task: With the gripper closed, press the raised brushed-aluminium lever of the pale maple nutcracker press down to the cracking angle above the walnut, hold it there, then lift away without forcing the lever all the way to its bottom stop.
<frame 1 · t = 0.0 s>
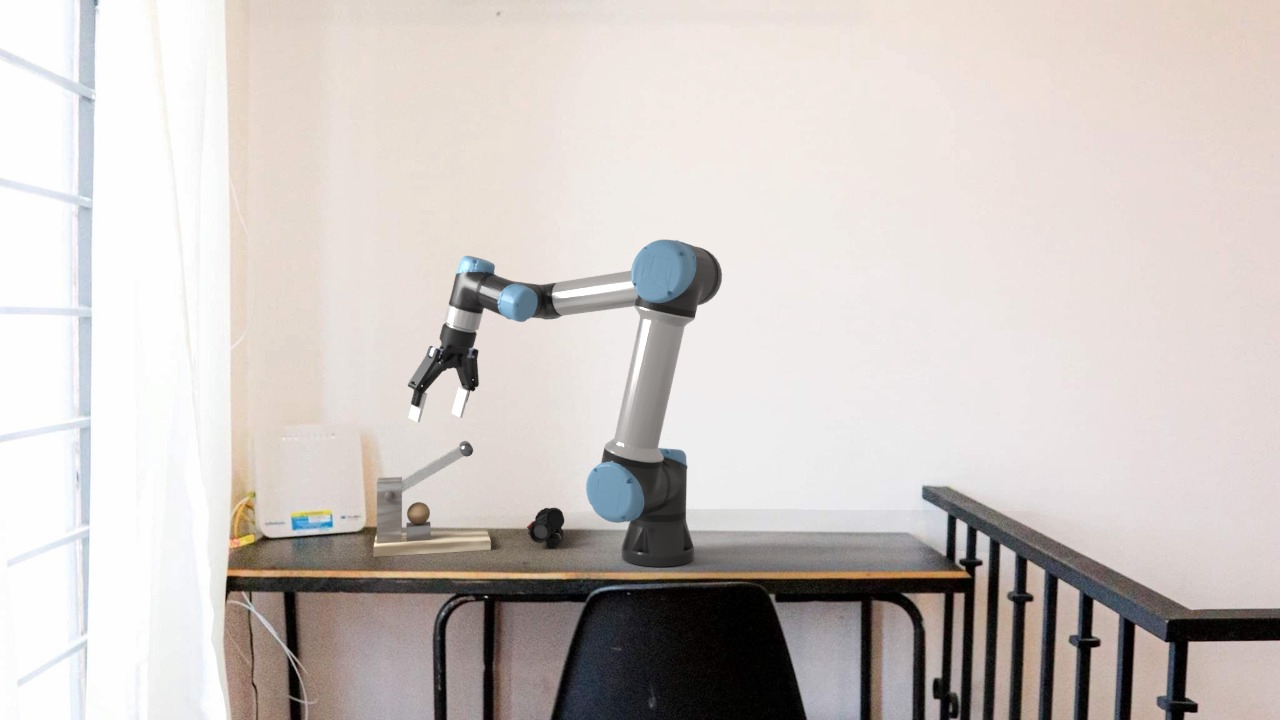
hand: (436, 417, 178), 28 cm above the table, tool tilted 20°, fingers open, 13 cm apart
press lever: (428, 470, 175), point 17 cm above the table, hinge at 30.0°
press base: (432, 546, 175), on the table
night vision scope: (547, 542, 181), on the table
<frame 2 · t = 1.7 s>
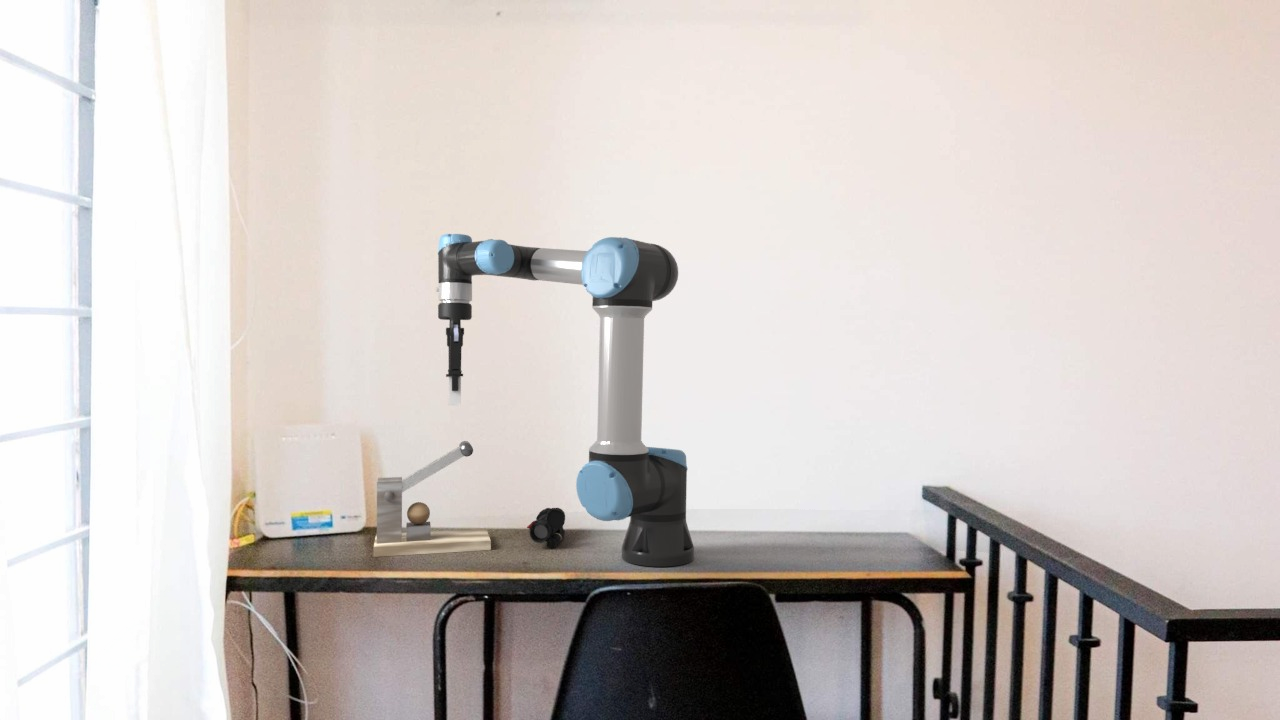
hand: (454, 405, 184), 30 cm above the table, tool pointing down, fingers closed
nothing on the table moved.
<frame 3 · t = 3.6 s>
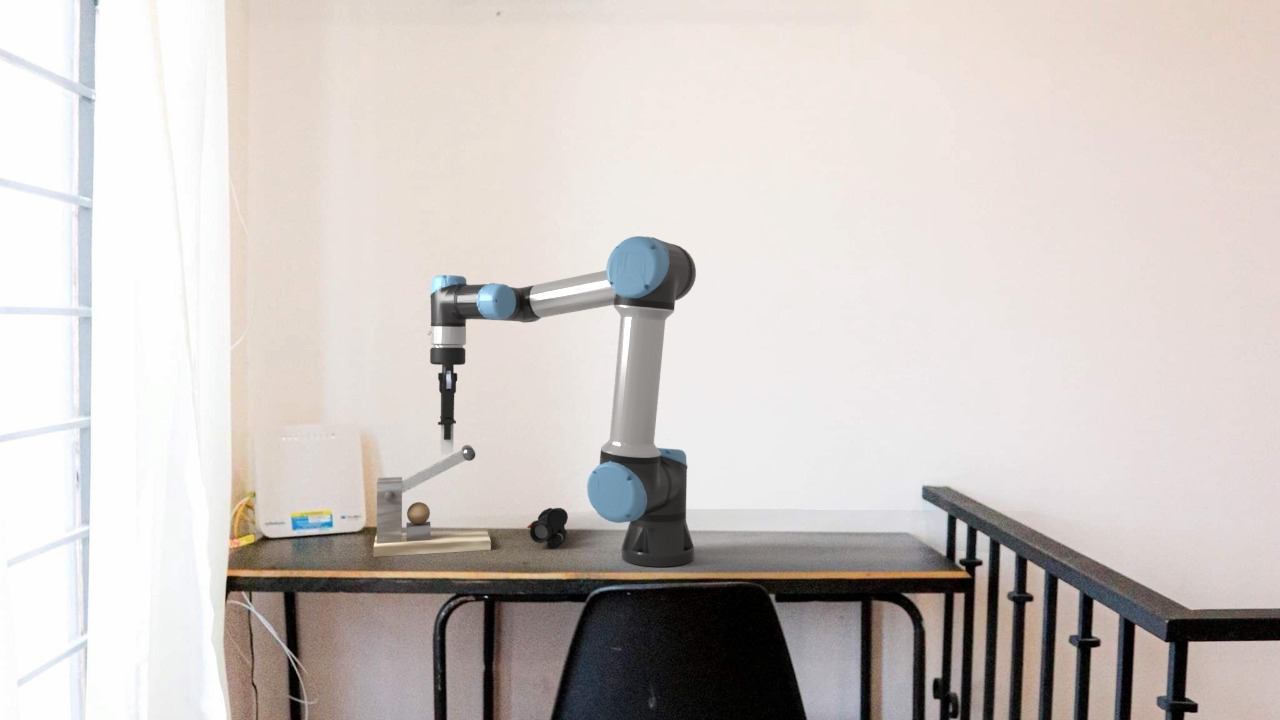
hand: (446, 454, 176), 20 cm above the table, tool pointing down, fingers closed
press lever: (430, 472, 175), point 16 cm above the table, hinge at 26.7°, touching gripper
everything else where it was.
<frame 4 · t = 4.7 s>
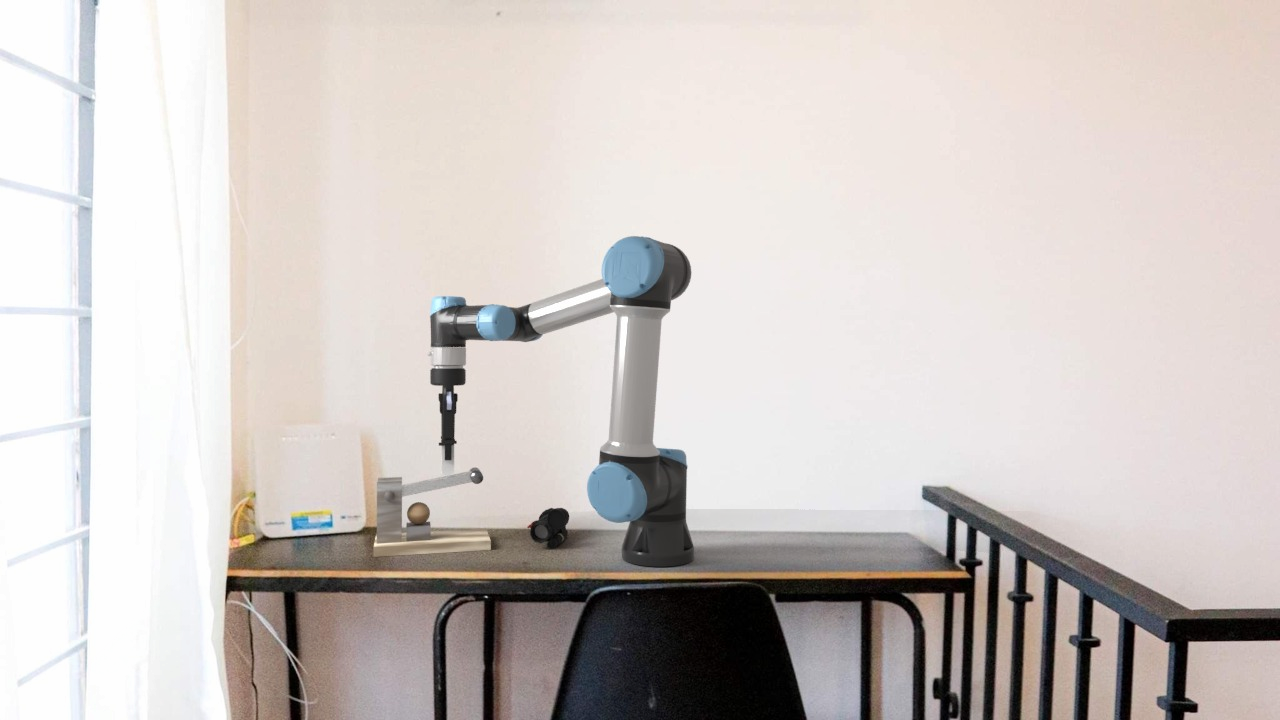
hand: (447, 474, 176), 16 cm above the table, tool pointing down, fingers closed
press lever: (434, 484, 175), point 14 cm above the table, hinge at 10.0°, touching gripper
everything else where it was.
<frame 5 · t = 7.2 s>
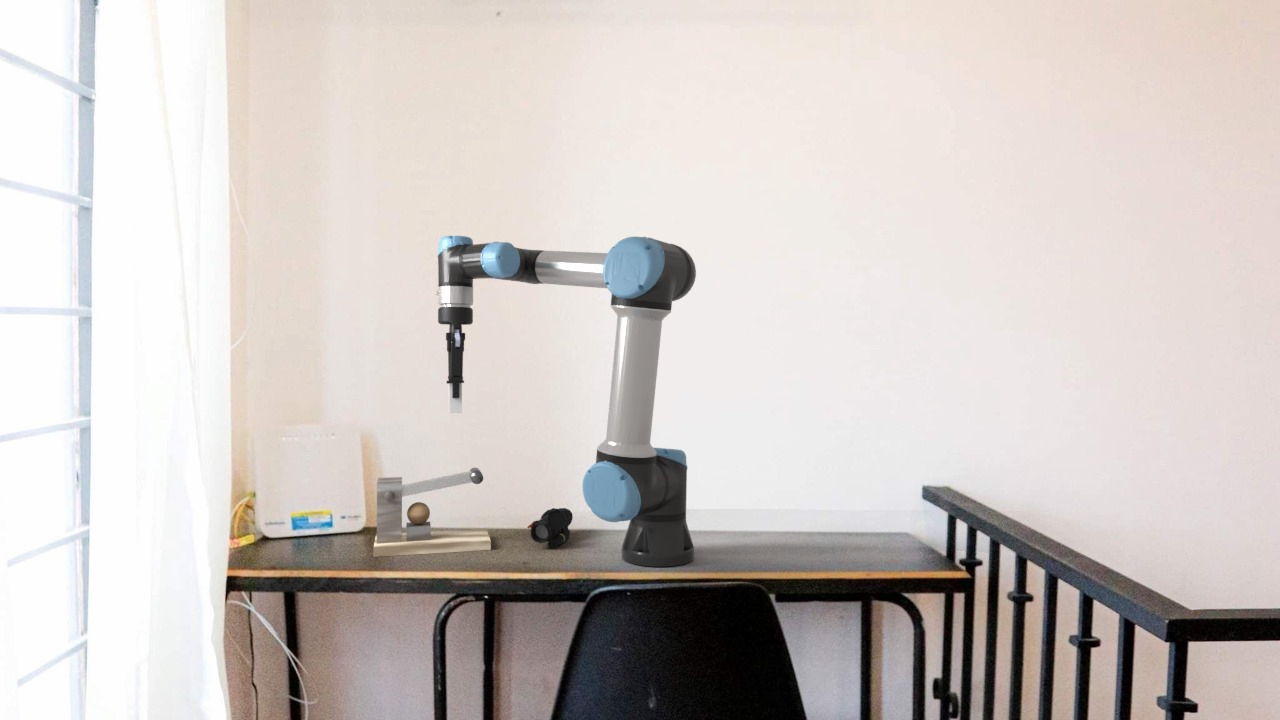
hand: (455, 412, 178), 29 cm above the table, tool pointing down, fingers closed
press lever: (434, 484, 175), point 14 cm above the table, hinge at 10.0°
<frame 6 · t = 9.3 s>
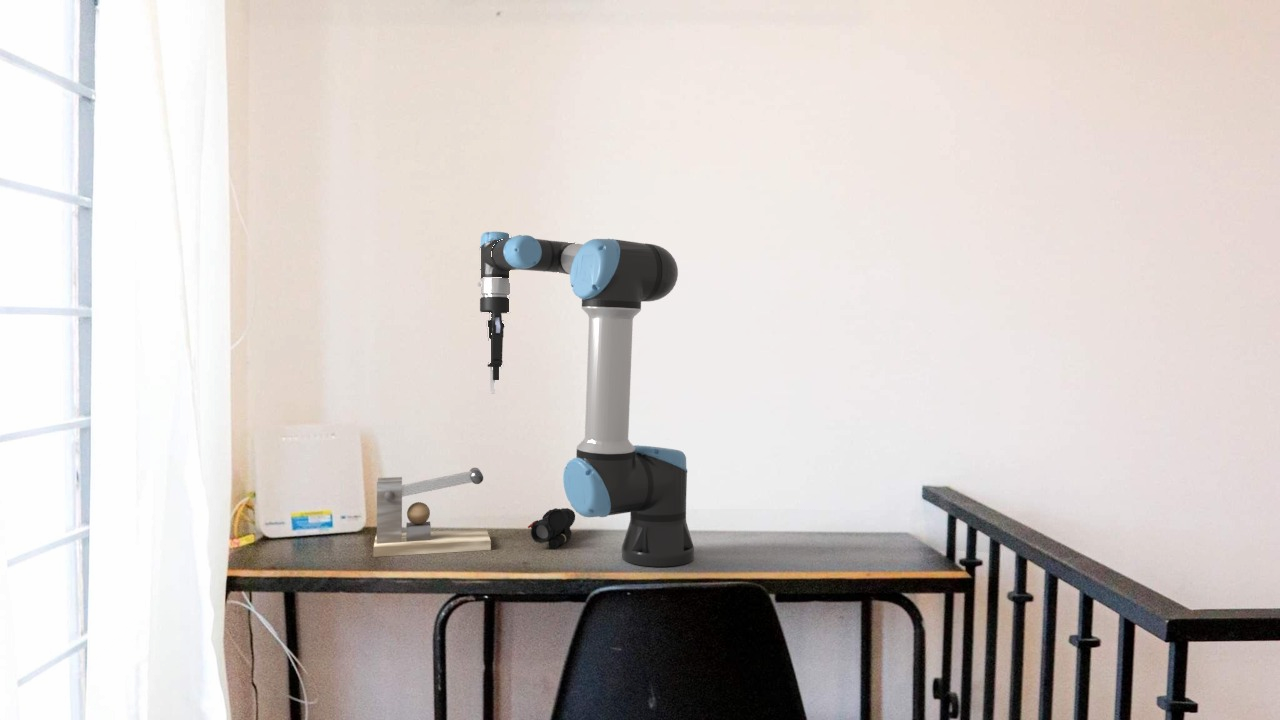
hand: (495, 393, 195), 32 cm above the table, tool pointing down, fingers closed
at the end: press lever at +10° (first picture: +30°); night vision scope moved 1.7 cm from its start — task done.
